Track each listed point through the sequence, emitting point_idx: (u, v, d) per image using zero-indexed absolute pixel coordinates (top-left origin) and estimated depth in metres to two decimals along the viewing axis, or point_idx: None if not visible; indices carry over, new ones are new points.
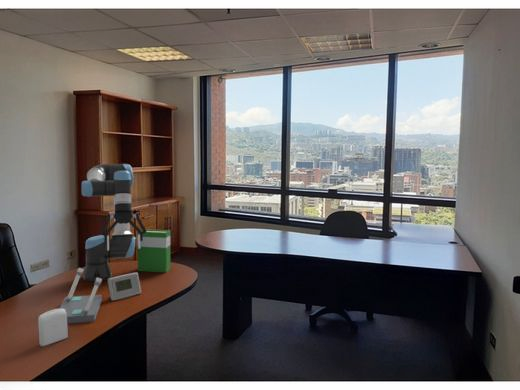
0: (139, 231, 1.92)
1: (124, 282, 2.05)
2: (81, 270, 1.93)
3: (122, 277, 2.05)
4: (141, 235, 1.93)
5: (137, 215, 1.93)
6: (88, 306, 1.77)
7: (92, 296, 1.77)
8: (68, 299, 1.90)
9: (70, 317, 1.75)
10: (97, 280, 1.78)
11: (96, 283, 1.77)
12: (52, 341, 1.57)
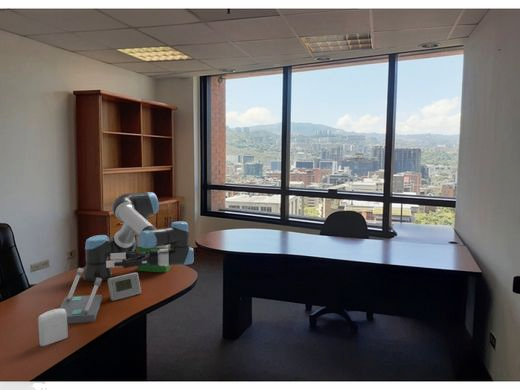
0: (128, 258, 1.89)
1: (124, 282, 2.05)
2: (81, 270, 1.93)
3: (122, 277, 2.05)
4: None
5: None
6: (88, 306, 1.77)
7: (92, 296, 1.77)
8: (68, 299, 1.90)
9: (70, 317, 1.75)
10: (97, 280, 1.78)
11: (96, 283, 1.77)
12: (52, 341, 1.57)
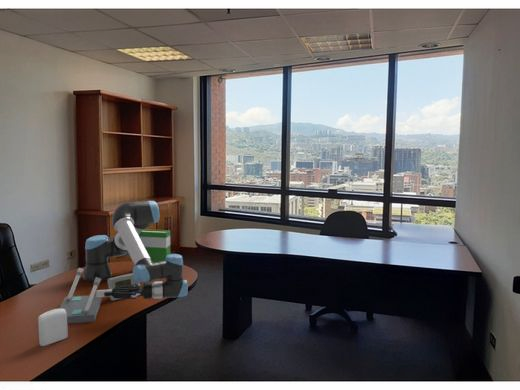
0: None
1: (124, 283, 2.05)
2: (81, 270, 1.93)
3: (122, 277, 2.05)
4: None
5: None
6: (88, 306, 1.77)
7: (92, 296, 1.77)
8: (68, 299, 1.90)
9: (70, 317, 1.75)
10: (96, 280, 1.78)
11: (95, 283, 1.77)
12: (52, 341, 1.57)
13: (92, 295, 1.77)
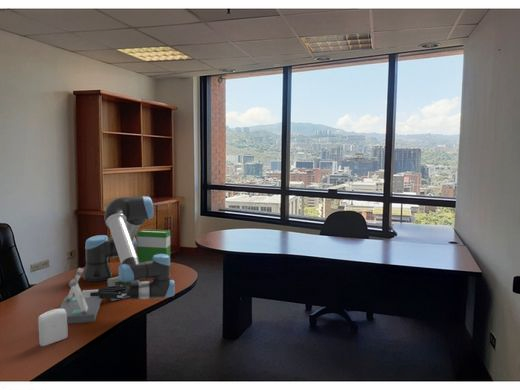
0: None
1: (124, 283, 2.05)
2: (81, 270, 1.93)
3: None
4: None
5: None
6: (82, 306, 1.77)
7: (78, 296, 1.76)
8: (68, 299, 1.90)
9: (70, 317, 1.75)
10: (71, 281, 1.76)
11: (71, 284, 1.74)
12: (52, 341, 1.57)
13: (77, 295, 1.76)
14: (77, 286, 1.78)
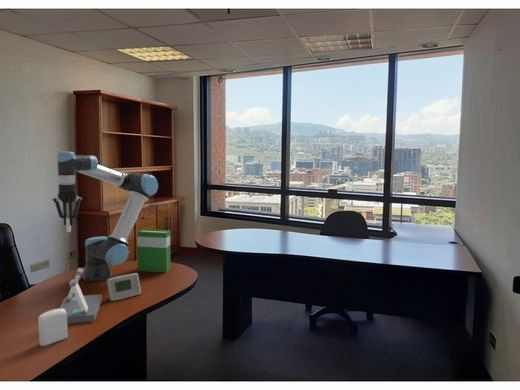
0: (70, 215, 2.00)
1: (124, 283, 2.04)
2: (81, 270, 1.93)
3: (122, 278, 2.04)
4: (71, 220, 2.01)
5: (79, 200, 2.00)
6: (82, 306, 1.77)
7: (78, 296, 1.76)
8: (68, 299, 1.90)
9: (70, 317, 1.75)
10: (71, 281, 1.76)
11: (71, 284, 1.74)
12: (52, 341, 1.57)
13: (77, 295, 1.76)
14: (77, 286, 1.78)
